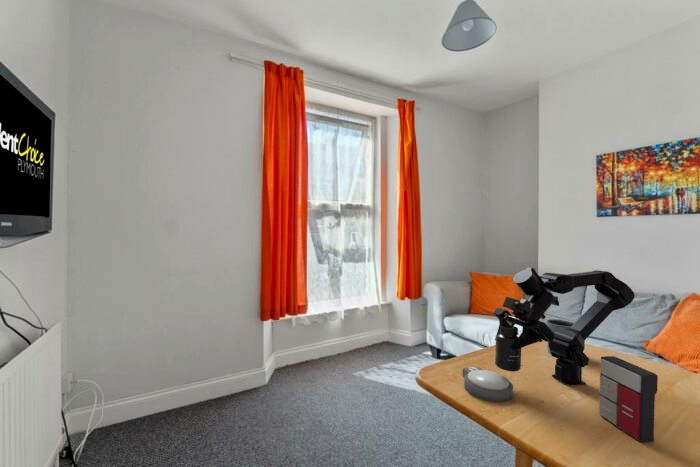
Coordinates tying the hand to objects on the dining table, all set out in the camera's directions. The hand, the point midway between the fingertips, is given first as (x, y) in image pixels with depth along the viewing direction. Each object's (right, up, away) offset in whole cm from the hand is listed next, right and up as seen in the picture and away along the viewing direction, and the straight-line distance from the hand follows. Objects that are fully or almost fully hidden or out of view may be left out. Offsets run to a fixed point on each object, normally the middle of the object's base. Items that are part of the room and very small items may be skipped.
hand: (504, 345), depth 95 cm
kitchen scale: (-6, -13, 0) cm, 14 cm away
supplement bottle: (+1, -7, 0) cm, 7 cm away
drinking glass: (+36, -14, +29) cm, 48 cm away
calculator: (+20, -13, -18) cm, 30 cm away
